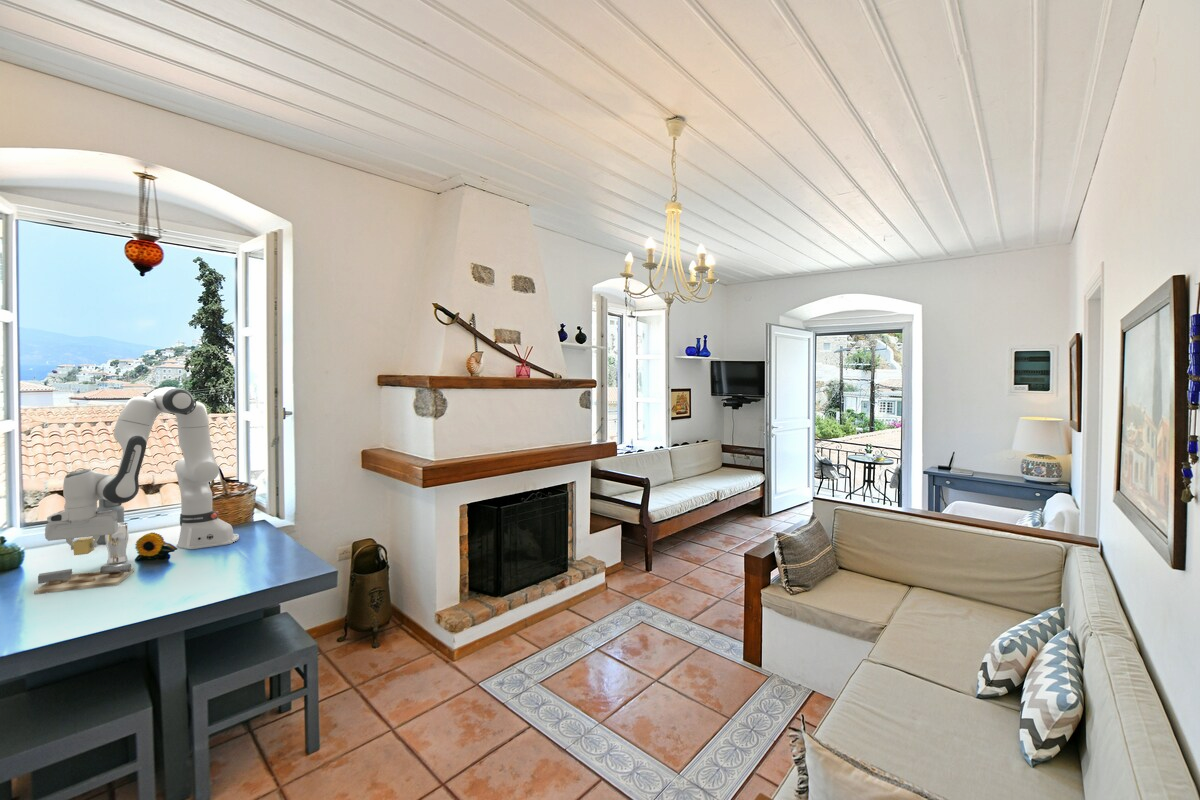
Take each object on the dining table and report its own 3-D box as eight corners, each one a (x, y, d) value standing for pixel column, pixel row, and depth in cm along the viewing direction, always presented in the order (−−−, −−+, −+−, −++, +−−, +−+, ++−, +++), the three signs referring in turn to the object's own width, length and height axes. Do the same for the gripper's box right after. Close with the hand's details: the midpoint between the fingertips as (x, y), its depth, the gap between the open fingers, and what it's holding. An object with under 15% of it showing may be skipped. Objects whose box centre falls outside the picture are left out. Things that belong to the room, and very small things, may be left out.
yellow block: (80, 551, 200) (79, 538, 199) (94, 549, 201) (93, 537, 201) (74, 555, 195) (73, 542, 195) (88, 553, 197) (87, 541, 197)
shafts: (131, 570, 194) (131, 562, 194) (125, 575, 190) (125, 566, 190) (43, 579, 184) (43, 570, 184) (35, 584, 180) (35, 575, 180)
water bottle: (128, 540, 234) (127, 479, 233) (98, 546, 226) (97, 482, 225) (120, 536, 240) (119, 476, 239) (91, 541, 231) (90, 479, 230)
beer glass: (102, 562, 207) (101, 525, 206) (124, 557, 213) (124, 521, 213) (109, 566, 204) (109, 528, 203) (132, 560, 210) (131, 524, 209)
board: (133, 571, 199) (133, 565, 199) (117, 585, 186) (117, 578, 186) (56, 579, 190) (56, 573, 190) (34, 594, 177) (34, 587, 177)
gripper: (120, 507, 204) (122, 541, 205) (50, 513, 196) (53, 549, 197) (113, 511, 199) (115, 547, 200) (41, 518, 190) (43, 554, 191)
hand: (84, 548), depth 198 cm, fingers closed on yellow block, 4 cm apart
